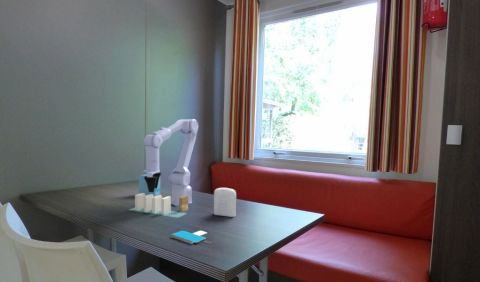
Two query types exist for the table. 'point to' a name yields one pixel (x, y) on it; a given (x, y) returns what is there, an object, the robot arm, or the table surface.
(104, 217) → the table surface
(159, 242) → the table surface
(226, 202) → the photo printer
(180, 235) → the phone stand
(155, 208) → the cream domino
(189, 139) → the robot arm
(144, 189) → the data package
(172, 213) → the teal mat
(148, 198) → the cream domino
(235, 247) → the table surface
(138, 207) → the cream domino
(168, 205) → the cream domino
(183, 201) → the ochre domino
